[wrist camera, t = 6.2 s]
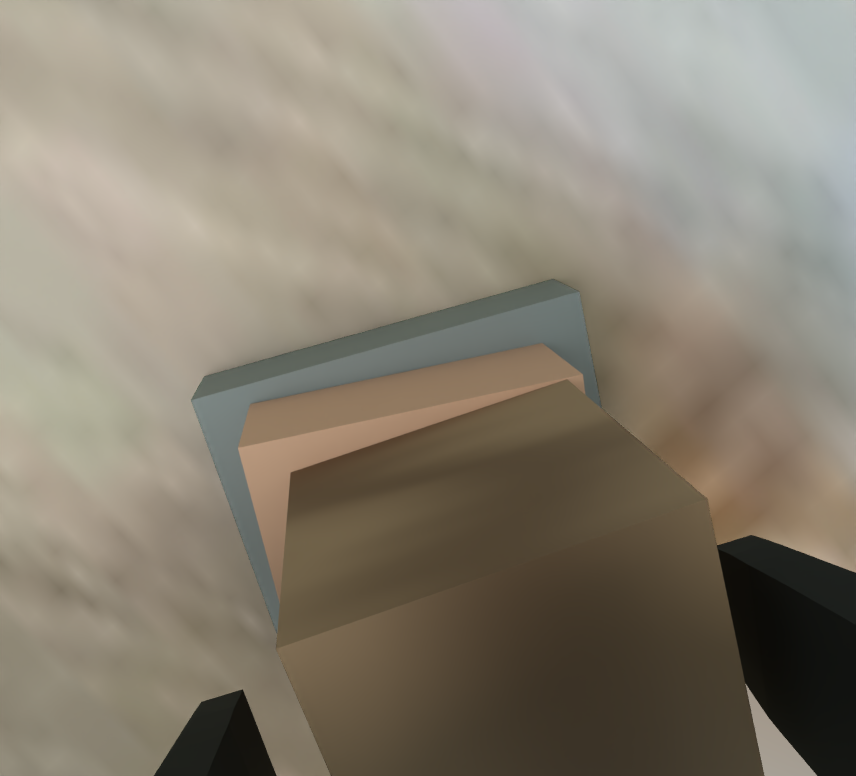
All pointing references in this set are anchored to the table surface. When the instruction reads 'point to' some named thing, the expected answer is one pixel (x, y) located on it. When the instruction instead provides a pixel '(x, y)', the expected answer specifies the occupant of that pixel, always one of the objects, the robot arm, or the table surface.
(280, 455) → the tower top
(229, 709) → the robot arm
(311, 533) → the walnut cube
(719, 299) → the table surface
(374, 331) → the tower base
